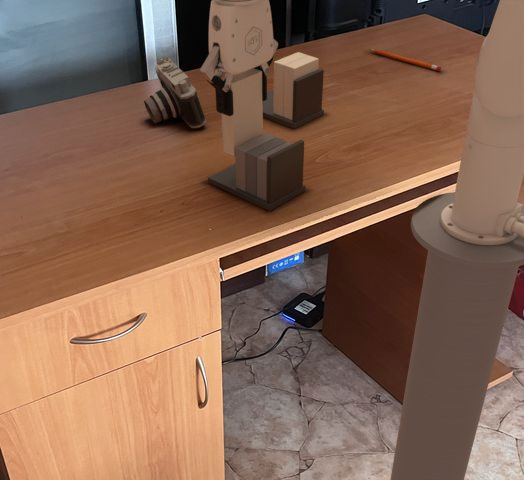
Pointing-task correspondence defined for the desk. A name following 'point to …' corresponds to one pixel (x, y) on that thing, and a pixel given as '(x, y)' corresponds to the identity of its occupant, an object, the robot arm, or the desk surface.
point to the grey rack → (264, 172)
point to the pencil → (406, 59)
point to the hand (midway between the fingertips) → (242, 105)
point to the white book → (244, 111)
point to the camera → (174, 96)
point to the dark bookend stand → (295, 91)
